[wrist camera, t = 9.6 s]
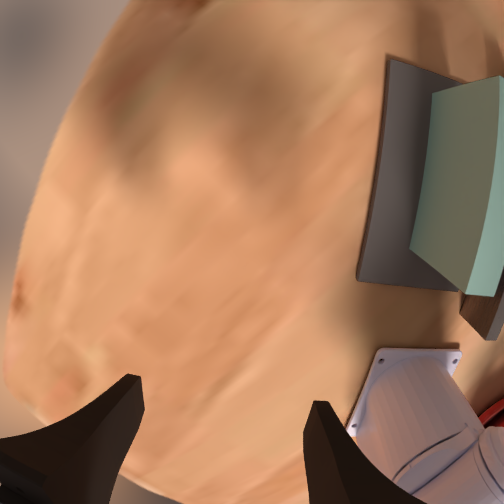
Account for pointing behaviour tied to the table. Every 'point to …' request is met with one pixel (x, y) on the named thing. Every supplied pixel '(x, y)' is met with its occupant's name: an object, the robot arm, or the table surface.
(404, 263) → the mat
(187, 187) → the table surface
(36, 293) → the table surface
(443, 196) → the teal board
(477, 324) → the rack
